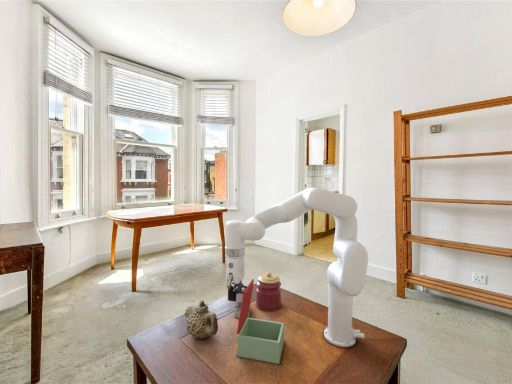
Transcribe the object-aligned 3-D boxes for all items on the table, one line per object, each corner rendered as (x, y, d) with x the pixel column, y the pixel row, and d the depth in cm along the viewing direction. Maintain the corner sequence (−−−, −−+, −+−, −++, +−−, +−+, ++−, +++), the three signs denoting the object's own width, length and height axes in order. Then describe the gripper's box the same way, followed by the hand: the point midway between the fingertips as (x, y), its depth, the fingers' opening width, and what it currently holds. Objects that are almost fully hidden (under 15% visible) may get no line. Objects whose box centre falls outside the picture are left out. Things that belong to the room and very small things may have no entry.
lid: (254, 279, 101) (242, 276, 102) (245, 292, 89) (232, 288, 90) (248, 316, 102) (236, 313, 104) (238, 334, 90) (225, 330, 91)
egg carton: (249, 319, 115) (249, 310, 115) (233, 318, 116) (233, 310, 115) (250, 307, 126) (250, 299, 126) (236, 307, 126) (236, 299, 126)
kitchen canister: (285, 303, 131) (285, 270, 130) (273, 314, 120) (274, 278, 119) (264, 296, 138) (264, 266, 137) (251, 306, 127) (251, 273, 126)
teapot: (176, 331, 105) (175, 297, 105) (198, 320, 114) (198, 288, 113) (205, 355, 91) (205, 316, 90) (228, 341, 99) (229, 305, 98)
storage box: (283, 341, 99) (284, 323, 99) (279, 364, 87) (279, 342, 87) (246, 335, 103) (247, 317, 103) (237, 356, 91) (237, 335, 90)
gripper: (237, 259, 87) (237, 308, 88) (250, 246, 104) (249, 288, 104) (217, 257, 89) (217, 306, 89) (233, 245, 105) (233, 286, 106)
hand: (235, 296), depth 97 cm, fingers closed on lid, 6 cm apart
